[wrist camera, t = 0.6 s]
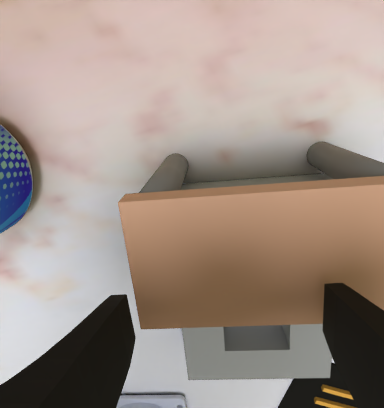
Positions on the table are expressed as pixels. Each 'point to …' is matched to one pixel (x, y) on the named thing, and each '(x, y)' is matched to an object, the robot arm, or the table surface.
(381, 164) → the raised peach slab
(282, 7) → the table surface
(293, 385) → the sushi
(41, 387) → the robot arm
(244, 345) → the socket plate
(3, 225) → the beer can
